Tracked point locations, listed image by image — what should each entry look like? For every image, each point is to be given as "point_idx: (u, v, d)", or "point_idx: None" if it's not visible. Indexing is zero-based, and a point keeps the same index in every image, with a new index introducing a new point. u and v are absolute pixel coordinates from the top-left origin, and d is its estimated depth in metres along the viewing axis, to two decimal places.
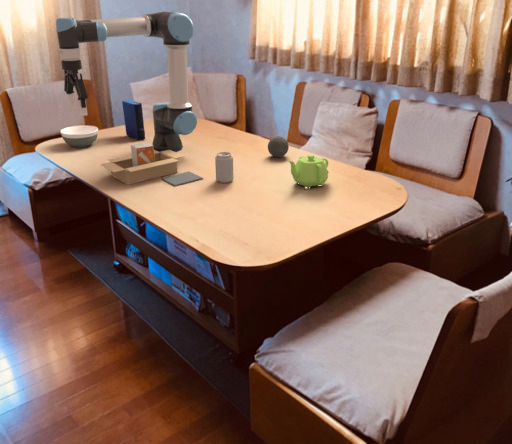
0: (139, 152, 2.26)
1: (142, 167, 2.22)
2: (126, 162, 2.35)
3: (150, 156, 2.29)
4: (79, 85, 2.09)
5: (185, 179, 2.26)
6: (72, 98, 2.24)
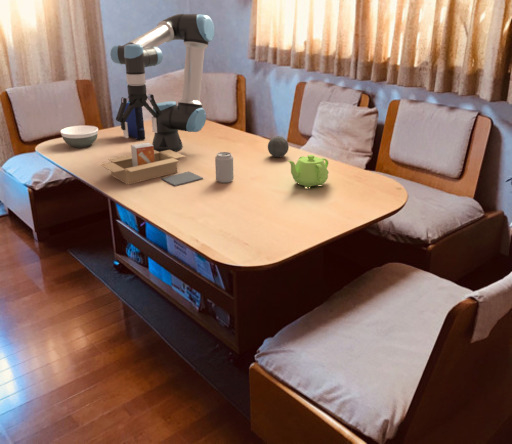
0: (139, 152, 2.26)
1: (142, 167, 2.22)
2: (126, 162, 2.35)
3: (150, 156, 2.29)
4: (119, 108, 2.18)
5: (185, 179, 2.26)
6: (153, 122, 2.28)
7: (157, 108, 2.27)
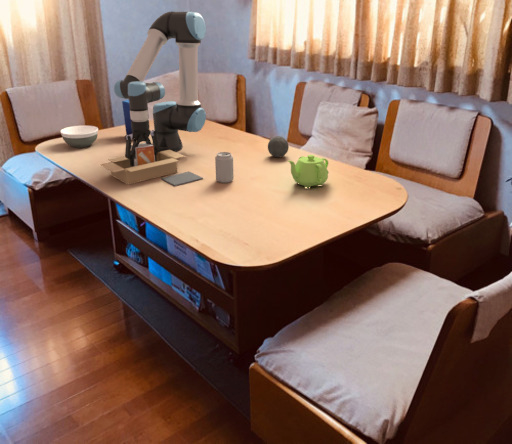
0: (139, 152, 2.26)
1: (142, 167, 2.22)
2: (126, 162, 2.35)
3: (150, 156, 2.29)
4: (126, 145, 2.25)
5: (185, 179, 2.26)
6: None
7: (157, 145, 2.32)
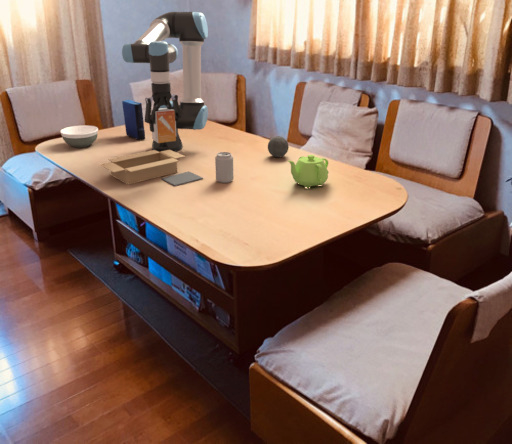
0: (159, 116, 2.15)
1: (142, 167, 2.22)
2: (126, 162, 2.35)
3: (170, 121, 2.18)
4: (146, 109, 2.14)
5: (185, 179, 2.26)
6: None
7: (178, 110, 2.21)
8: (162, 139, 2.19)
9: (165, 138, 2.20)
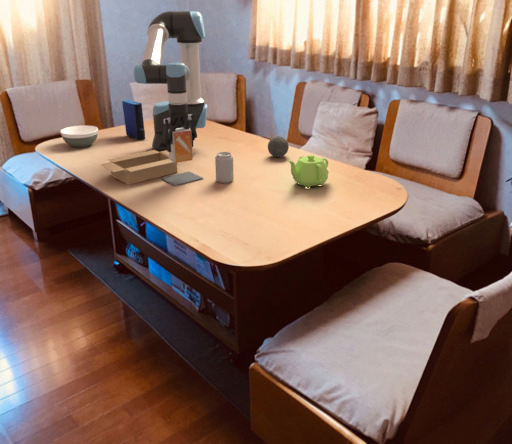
0: (176, 137, 2.16)
1: (142, 167, 2.22)
2: (126, 162, 2.35)
3: (187, 141, 2.19)
4: (163, 130, 2.15)
5: (185, 179, 2.26)
6: None
7: (194, 130, 2.22)
8: (179, 159, 2.20)
9: (182, 158, 2.21)
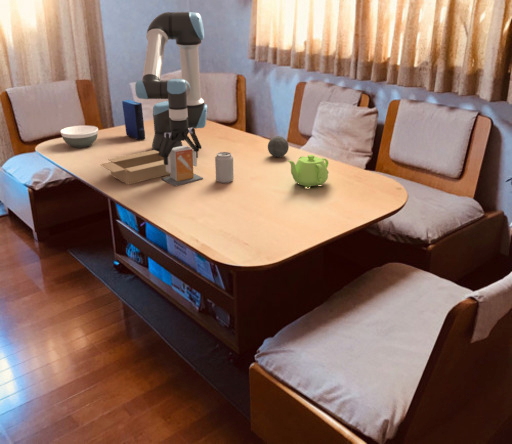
0: (178, 156, 2.19)
1: (142, 167, 2.22)
2: (126, 162, 2.35)
3: (188, 160, 2.23)
4: (162, 143, 2.17)
5: (185, 179, 2.26)
6: (193, 155, 2.27)
7: (197, 142, 2.25)
8: (181, 177, 2.24)
9: (184, 176, 2.24)
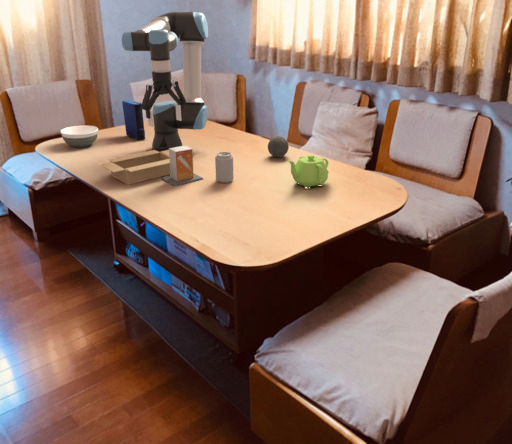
0: (178, 156, 2.19)
1: (142, 167, 2.22)
2: (126, 162, 2.35)
3: (188, 160, 2.23)
4: (144, 96, 2.12)
5: (185, 179, 2.26)
6: (178, 109, 2.23)
7: (181, 95, 2.21)
8: (181, 177, 2.24)
9: (184, 176, 2.24)
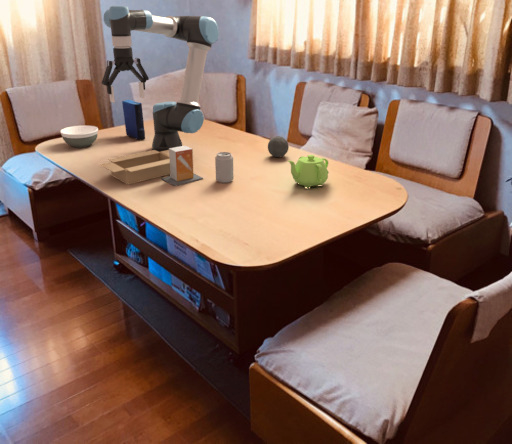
0: (178, 156, 2.19)
1: (142, 167, 2.22)
2: (126, 162, 2.35)
3: (188, 160, 2.23)
4: (105, 71, 2.15)
5: (185, 179, 2.26)
6: (140, 87, 2.25)
7: (144, 73, 2.24)
8: (181, 177, 2.24)
9: (184, 176, 2.24)
